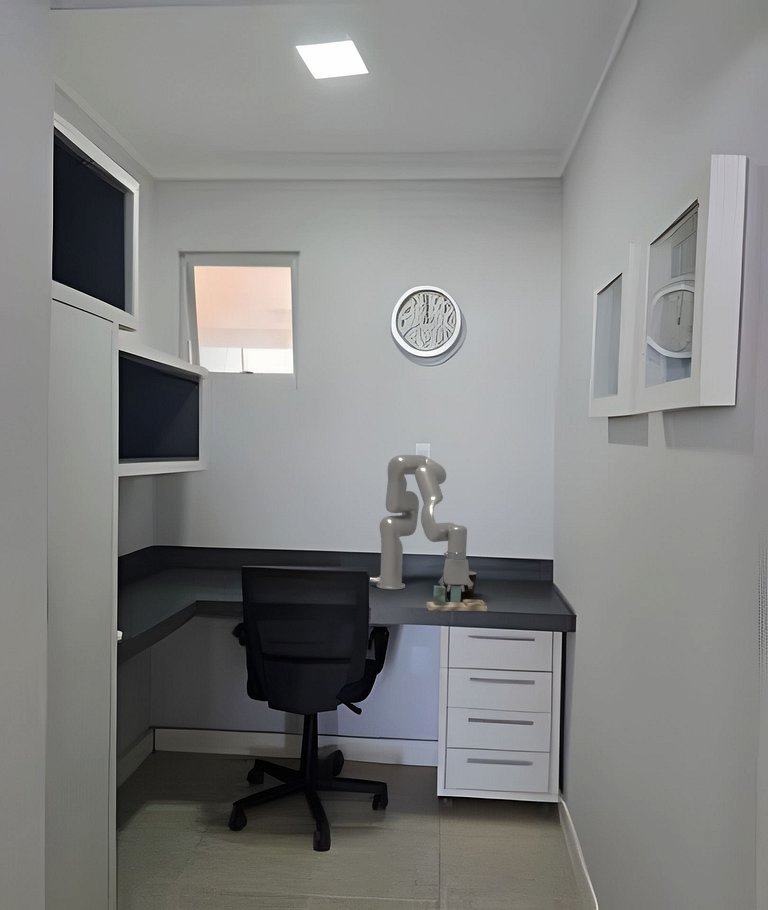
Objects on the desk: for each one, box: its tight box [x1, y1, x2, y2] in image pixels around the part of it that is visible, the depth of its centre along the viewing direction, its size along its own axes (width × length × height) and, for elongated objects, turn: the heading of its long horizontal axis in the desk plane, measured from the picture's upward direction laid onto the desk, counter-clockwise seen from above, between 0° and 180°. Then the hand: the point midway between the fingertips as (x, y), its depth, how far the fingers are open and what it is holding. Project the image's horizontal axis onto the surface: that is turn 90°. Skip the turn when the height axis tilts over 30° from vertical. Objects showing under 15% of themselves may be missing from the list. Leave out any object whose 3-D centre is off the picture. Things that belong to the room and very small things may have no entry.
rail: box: [425, 585, 488, 612], centre depth 318 cm, size 23×8×8 cm, turn 94°
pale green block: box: [448, 585, 461, 602], centre depth 327 cm, size 5×4×7 cm
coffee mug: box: [463, 570, 477, 599], centre depth 341 cm, size 12×9×10 cm
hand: (454, 600), depth 327 cm, fingers closed on pale green block, 4 cm apart
